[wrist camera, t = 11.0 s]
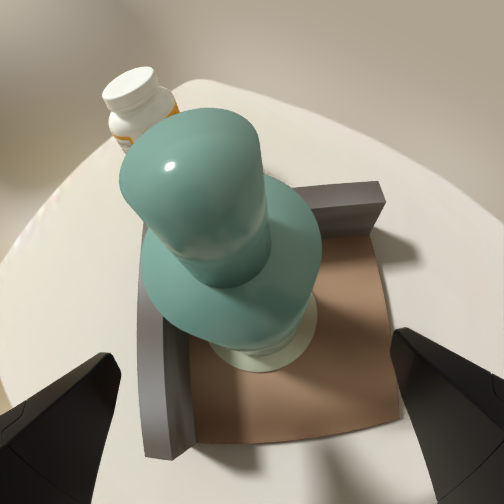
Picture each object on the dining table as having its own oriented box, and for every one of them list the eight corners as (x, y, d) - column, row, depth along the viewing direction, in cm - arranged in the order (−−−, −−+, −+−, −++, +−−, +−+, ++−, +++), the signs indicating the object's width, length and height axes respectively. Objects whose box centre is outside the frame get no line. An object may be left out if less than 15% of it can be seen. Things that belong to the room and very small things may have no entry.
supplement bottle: (138, 194, 23) (82, 116, 14) (146, 151, 25) (104, 76, 16) (196, 182, 22) (155, 89, 14) (197, 139, 25) (167, 54, 16)
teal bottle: (305, 351, 15) (387, 286, 3) (220, 359, 16) (40, 315, 3) (295, 271, 17) (306, 63, 5) (216, 280, 18) (99, 107, 5)
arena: (394, 416, 14) (428, 428, 9) (178, 438, 15) (145, 456, 10) (361, 220, 19) (378, 181, 15) (172, 243, 20) (145, 209, 16)
